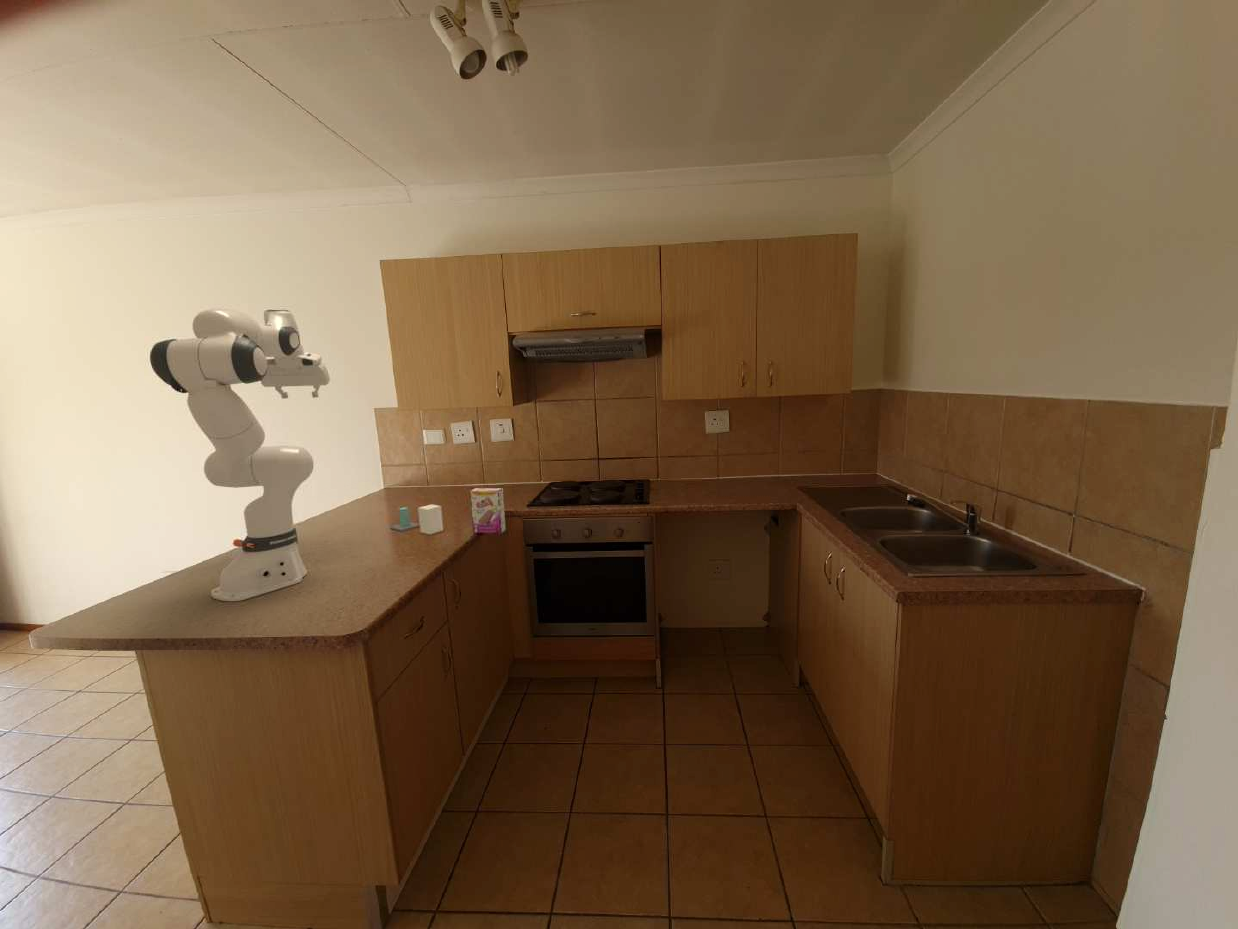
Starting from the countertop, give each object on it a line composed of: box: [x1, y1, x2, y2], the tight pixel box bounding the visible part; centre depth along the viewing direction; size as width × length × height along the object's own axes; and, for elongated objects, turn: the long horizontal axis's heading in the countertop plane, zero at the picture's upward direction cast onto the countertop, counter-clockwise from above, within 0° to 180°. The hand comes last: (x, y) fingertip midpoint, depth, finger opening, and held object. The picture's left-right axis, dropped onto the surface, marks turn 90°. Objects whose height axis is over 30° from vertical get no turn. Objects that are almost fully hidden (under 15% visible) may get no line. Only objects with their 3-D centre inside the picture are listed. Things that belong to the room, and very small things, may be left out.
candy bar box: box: [469, 487, 507, 535], centre depth 180 cm, size 11×5×16 cm, turn 84°
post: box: [389, 506, 420, 533], centre depth 190 cm, size 8×8×8 cm
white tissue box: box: [417, 504, 444, 535], centre depth 184 cm, size 6×6×10 cm
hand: (300, 397), depth 169 cm, fingers open, 8 cm apart
